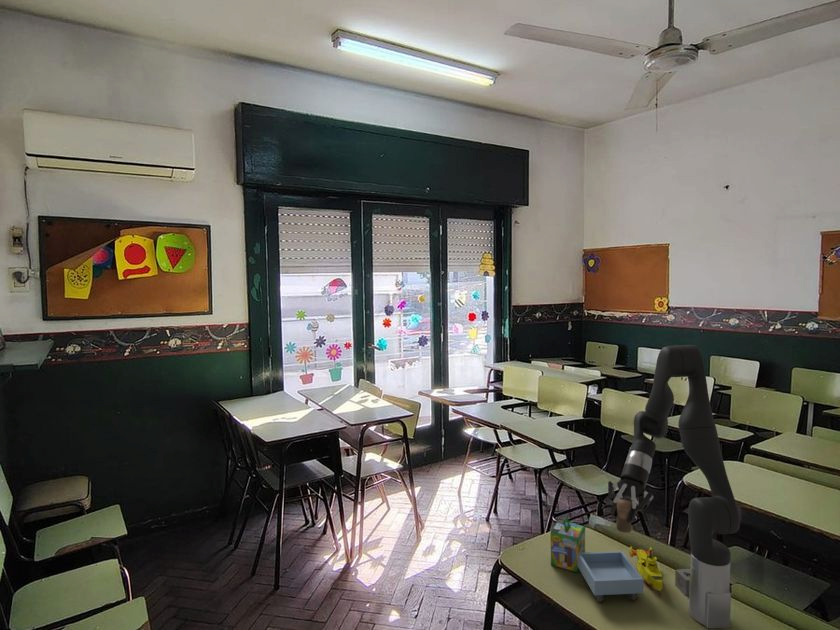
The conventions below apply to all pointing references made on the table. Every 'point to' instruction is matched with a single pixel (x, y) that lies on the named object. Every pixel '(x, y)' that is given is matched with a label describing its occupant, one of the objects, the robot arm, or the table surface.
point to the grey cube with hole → (683, 580)
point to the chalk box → (567, 544)
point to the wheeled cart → (610, 574)
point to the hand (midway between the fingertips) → (621, 518)
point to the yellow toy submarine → (648, 567)
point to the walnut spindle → (623, 514)
